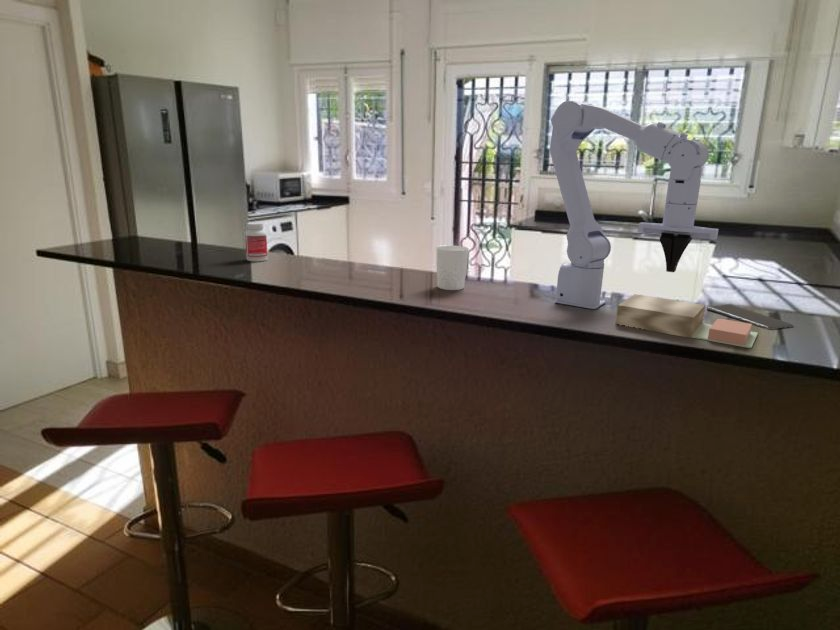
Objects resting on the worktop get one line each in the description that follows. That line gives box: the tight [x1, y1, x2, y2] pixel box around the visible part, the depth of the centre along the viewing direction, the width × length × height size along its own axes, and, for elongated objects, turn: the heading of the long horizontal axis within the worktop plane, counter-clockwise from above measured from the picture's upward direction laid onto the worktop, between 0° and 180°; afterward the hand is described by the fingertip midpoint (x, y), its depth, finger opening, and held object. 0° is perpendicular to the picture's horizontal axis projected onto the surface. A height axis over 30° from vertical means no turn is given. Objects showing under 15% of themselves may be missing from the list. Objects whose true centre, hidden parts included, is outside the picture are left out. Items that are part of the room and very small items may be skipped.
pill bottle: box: [244, 222, 268, 263], centre depth 171 cm, size 6×6×11 cm
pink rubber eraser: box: [708, 318, 753, 345], centre depth 108 cm, size 6×9×2 cm, turn 144°
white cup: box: [435, 245, 469, 291], centre depth 142 cm, size 8×8×10 cm
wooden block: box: [615, 294, 706, 339], centre depth 115 cm, size 14×12×4 cm
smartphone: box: [706, 304, 794, 330], centre depth 122 cm, size 7×1×16 cm
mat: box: [691, 322, 759, 349], centre depth 109 cm, size 10×11×1 cm
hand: (670, 271), depth 116 cm, fingers closed
